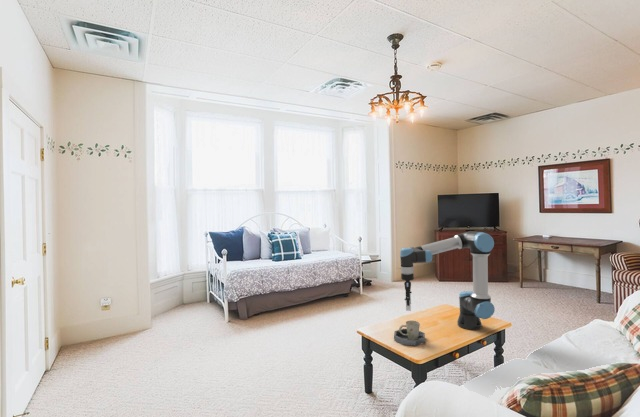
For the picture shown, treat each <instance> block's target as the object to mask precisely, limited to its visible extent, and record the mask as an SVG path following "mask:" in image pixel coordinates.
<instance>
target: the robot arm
mask: <svg viewBox="0 0 640 417" xmlns="http://www.w3.org/2000/svg"><path fill="white" fill-rule="evenodd" d="M494 246H495V241H494V238H493V237H492V236H491V235H490V234H489V233H486V232H483V231H476V230H475V231H474V230H469V231H465V232H461V233H458V234H456V235H454V236H453V237H450V238H447V239H442V240H438V241H434V242H430V243H427V244H423V245H420V246H416V247H414V246H409V247H403V248H401V249H400V250H399V251H400V252H399V257H400V267H399V269H400V279H401V280H402V281H404V290H405V298H404V301H405V310H406V311H408V312H409V311H410V312H411V310H412V306H411V304H412V296H411V294H412V291H411V288H412V287H411V286H412V282H411V281H413V280H414V278H415V276H414V275H415V274H414V264H423V263H425V264H426V263H431V262H432V260H433V255H436V254H441V253H444V252H448V251H452V250H456V249H458V250H461V249H469V251H470V252H469V253H470V255H471V256H472V291H471V290H470V291H469V290H467V291H465V290H463V291H460V292H459V297H458V298H459V299H458V300H459V315H458V318H457V321H456V322H457V326H458V327H459V328H462V329H465V330H472V331H474V330H475V331H476V330H481V329H482V328H483V325H482V324H483V323H482V321H481V319H482V320H488V319H490V318H491V317H492V316H493V315H494V313H495V306H494V304H493V303H492V300H491V299H492V298H491V295H490V294H489V270H488V269H489V265H488V264H489V263H488V261H489V260H488V259H489V258H488V257H489V256H490V255H491V251H492V250H493V249H494Z"/></svg>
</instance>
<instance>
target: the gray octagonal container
mask: <svg viewBox="0 0 640 417" xmlns="http://www.w3.org/2000/svg"><path fill="white" fill-rule="evenodd" d="M401 332H402V333H403V334H407V328H402V329H401ZM393 340H394V342H396V343H397V344H401V345H403V346H414V347H416V346H417V347H418V346H420V345H422V344H423V345H424V344H425V343H426V334H425V332H423V331H420V330H419V336H418V339H416V340H409V339H408V335H407V336H404V335H402V334H401V333H400V332H399V329H396V330H394V333H393Z"/></svg>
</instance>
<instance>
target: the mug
mask: <svg viewBox="0 0 640 417" xmlns="http://www.w3.org/2000/svg"><path fill="white" fill-rule="evenodd" d="M403 328H405V329H407V334H403V333H402V332H401V329H403ZM398 330H399V332H400V333H401V334H402V335H404V336H407V335H408V339H409V340H416V339H418V336H419V331H420V321H418V320H407V321H405V324H402V325H400V326H399V329H398Z"/></svg>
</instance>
